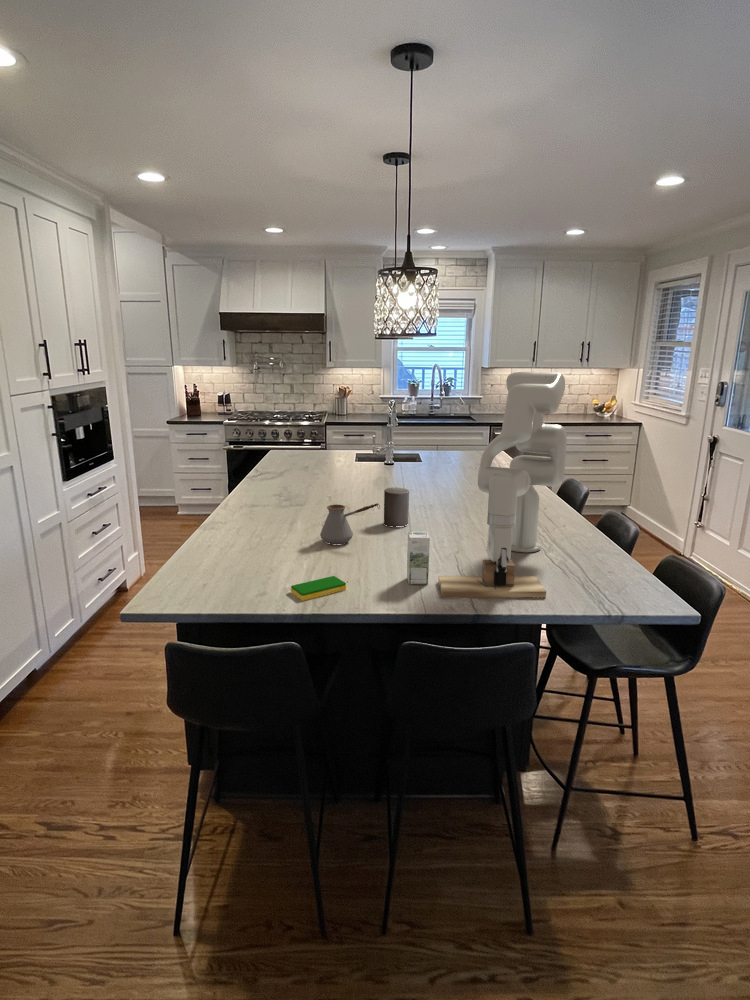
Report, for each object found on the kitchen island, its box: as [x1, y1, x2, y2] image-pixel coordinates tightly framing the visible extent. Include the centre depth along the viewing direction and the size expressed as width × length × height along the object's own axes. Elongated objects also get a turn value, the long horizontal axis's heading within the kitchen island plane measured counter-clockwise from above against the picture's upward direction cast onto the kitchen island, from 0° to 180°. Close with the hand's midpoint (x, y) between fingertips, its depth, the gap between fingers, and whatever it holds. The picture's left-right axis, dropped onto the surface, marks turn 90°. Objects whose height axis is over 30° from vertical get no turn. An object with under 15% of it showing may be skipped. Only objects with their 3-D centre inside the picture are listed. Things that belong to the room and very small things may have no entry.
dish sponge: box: [290, 575, 347, 602], centre depth 160 cm, size 7×14×2 cm, turn 124°
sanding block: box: [481, 559, 516, 586], centre depth 160 cm, size 4×8×6 cm, turn 90°
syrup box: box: [406, 531, 431, 586], centre depth 165 cm, size 6×6×14 cm
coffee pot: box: [319, 503, 381, 545], centre depth 199 cm, size 21×12×15 cm, turn 76°
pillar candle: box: [383, 486, 410, 527], centre depth 222 cm, size 10×10×15 cm
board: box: [437, 575, 547, 599], centre depth 161 cm, size 11×28×2 cm, turn 90°
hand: (497, 580), depth 161 cm, fingers closed on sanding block, 4 cm apart
